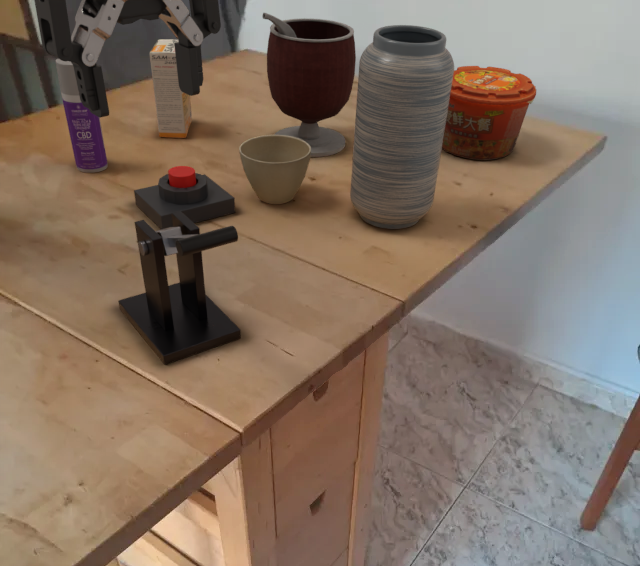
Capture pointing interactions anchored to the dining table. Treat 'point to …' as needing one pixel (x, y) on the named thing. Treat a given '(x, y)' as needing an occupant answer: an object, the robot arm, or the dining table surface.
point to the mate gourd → (311, 76)
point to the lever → (195, 240)
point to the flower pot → (275, 166)
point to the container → (81, 123)
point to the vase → (400, 124)
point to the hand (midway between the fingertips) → (146, 103)
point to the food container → (486, 112)
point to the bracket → (175, 300)
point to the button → (182, 177)
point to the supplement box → (169, 92)
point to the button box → (184, 201)
